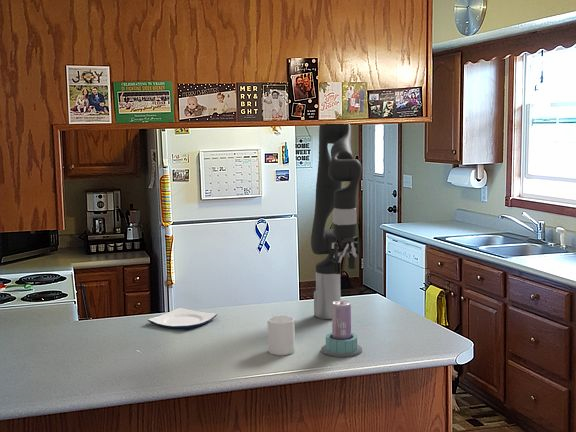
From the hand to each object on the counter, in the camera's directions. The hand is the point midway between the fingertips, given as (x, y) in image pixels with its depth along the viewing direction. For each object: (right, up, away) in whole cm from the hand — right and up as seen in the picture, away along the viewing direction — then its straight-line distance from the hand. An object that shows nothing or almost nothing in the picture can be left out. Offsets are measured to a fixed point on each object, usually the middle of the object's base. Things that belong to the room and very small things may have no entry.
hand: (344, 271), depth 231 cm
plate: (-57, -22, +35) cm, 71 cm away
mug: (-21, -26, +1) cm, 33 cm away
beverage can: (-1, -25, -1) cm, 25 cm away
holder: (-1, -26, -1) cm, 26 cm away
